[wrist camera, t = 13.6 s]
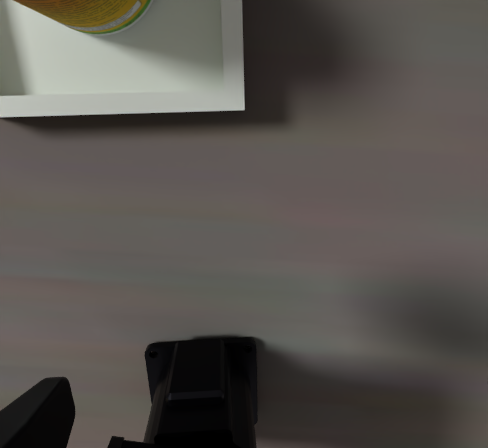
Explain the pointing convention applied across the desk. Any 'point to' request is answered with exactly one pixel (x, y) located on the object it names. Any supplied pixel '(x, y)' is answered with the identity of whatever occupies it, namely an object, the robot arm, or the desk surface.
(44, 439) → the robot arm
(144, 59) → the tray
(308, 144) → the desk surface
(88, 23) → the supplement bottle
